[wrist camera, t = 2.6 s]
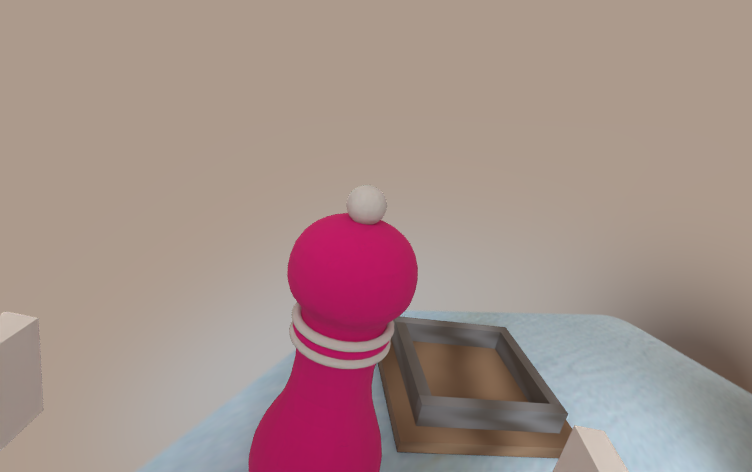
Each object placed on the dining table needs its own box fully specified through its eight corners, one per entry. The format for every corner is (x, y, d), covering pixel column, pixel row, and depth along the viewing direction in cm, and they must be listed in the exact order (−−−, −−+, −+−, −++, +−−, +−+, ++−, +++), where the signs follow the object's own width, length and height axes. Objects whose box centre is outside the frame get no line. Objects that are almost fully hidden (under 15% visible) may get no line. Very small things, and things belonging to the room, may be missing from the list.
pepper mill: (326, 607, 21) (421, 230, 15) (213, 529, 24) (248, 173, 17) (384, 494, 28) (468, 196, 21) (289, 442, 30) (338, 157, 23)
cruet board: (504, 344, 48) (512, 320, 47) (582, 459, 34) (596, 429, 33) (371, 331, 45) (376, 306, 44) (397, 452, 31) (406, 419, 30)
